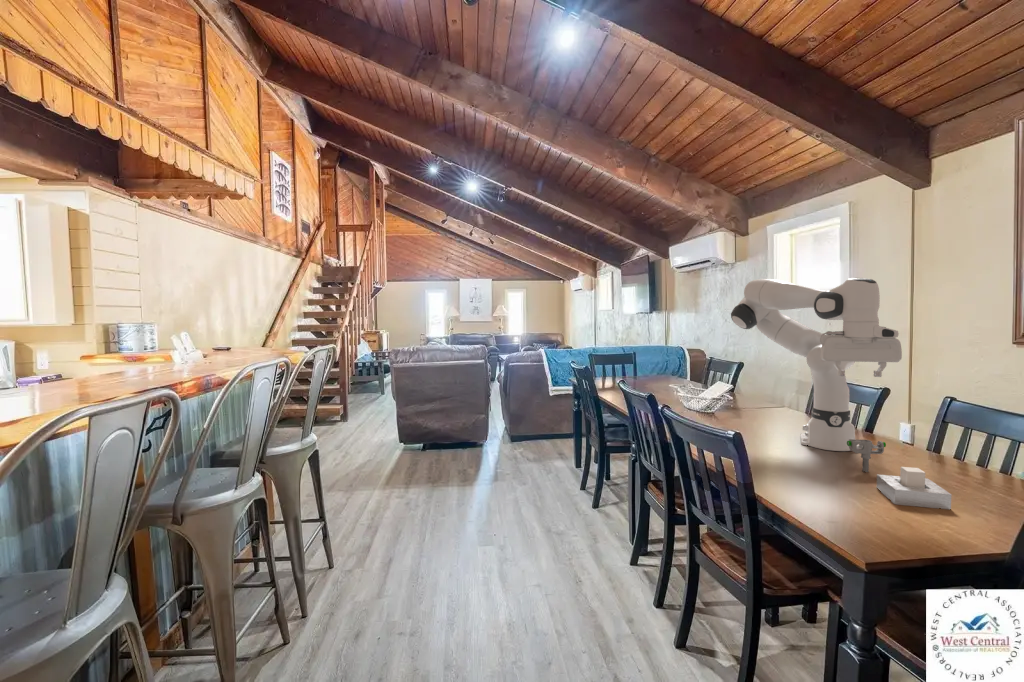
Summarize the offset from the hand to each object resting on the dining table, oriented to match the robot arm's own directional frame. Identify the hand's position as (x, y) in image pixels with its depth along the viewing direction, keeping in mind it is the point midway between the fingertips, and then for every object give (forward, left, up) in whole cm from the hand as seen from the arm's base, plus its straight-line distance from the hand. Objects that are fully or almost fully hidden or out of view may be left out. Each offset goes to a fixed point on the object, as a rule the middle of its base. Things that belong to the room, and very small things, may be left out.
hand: (859, 376), depth 146 cm
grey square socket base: (+16, +8, -31) cm, 36 cm away
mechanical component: (-5, +4, -31) cm, 32 cm away
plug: (+16, +8, -31) cm, 36 cm away
